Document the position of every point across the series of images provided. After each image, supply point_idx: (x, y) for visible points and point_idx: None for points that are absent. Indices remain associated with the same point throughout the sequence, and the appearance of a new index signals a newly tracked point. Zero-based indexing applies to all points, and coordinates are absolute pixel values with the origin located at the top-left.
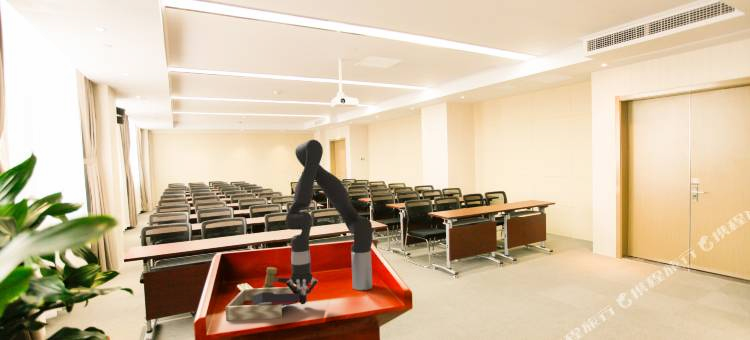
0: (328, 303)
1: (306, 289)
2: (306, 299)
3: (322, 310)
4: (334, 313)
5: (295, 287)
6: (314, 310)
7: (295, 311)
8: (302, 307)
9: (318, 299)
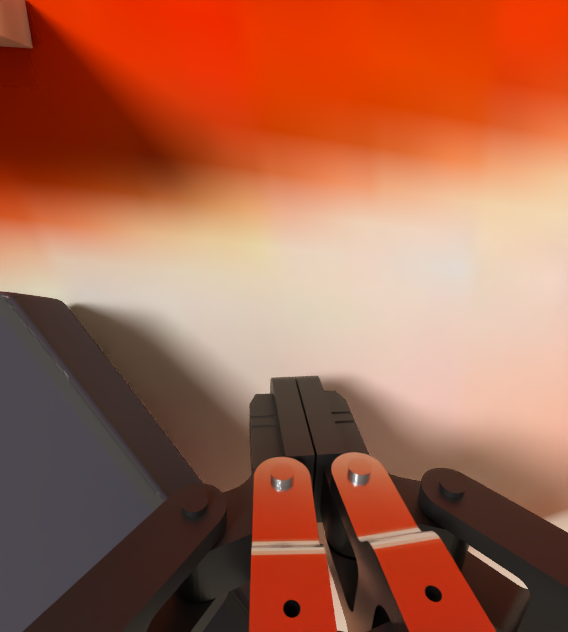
0: (563, 292)
1: (402, 522)
2: (344, 417)
3: (477, 449)
4: (563, 501)
5: (169, 589)
6: (405, 447)
7: (218, 462)
8: (275, 376)
9: (465, 135)
